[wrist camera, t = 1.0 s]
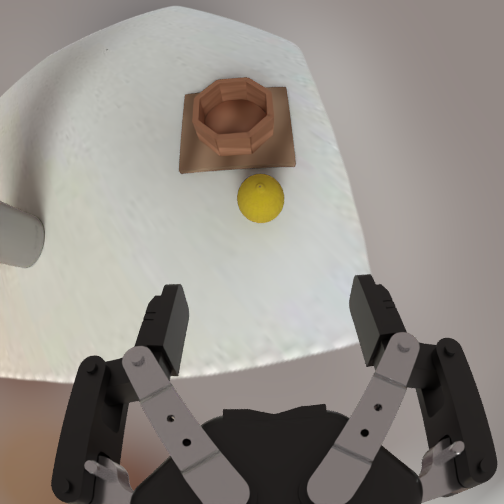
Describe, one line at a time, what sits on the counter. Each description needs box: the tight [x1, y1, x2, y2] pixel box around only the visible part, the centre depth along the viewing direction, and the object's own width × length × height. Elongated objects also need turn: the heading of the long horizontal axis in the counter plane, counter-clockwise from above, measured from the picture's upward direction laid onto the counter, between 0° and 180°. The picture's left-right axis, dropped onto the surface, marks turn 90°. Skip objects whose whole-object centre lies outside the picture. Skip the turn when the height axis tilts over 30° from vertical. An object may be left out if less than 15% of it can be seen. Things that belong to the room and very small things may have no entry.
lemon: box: [237, 174, 284, 223], centre depth 35 cm, size 6×6×8 cm
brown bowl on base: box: [179, 77, 296, 174], centre depth 38 cm, size 16×14×6 cm
